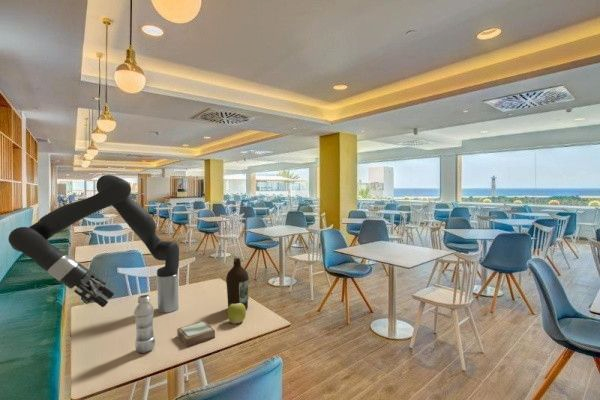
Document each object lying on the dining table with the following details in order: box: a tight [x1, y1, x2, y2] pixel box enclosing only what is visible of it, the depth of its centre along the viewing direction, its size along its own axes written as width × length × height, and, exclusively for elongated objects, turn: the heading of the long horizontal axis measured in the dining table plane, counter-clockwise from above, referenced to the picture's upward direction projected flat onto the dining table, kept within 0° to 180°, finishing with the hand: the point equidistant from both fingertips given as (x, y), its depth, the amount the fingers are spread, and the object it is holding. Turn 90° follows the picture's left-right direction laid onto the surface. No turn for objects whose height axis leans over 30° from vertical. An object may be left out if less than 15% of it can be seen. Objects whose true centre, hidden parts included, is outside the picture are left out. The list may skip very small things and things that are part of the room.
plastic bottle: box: [133, 294, 156, 354], centre depth 112 cm, size 6×7×20 cm
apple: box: [226, 301, 247, 325], centre depth 136 cm, size 8×8×10 cm
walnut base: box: [176, 320, 216, 348], centre depth 123 cm, size 11×11×3 cm
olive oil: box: [225, 256, 250, 311], centre depth 149 cm, size 11×11×25 cm
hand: (109, 300), depth 108 cm, fingers open, 8 cm apart
